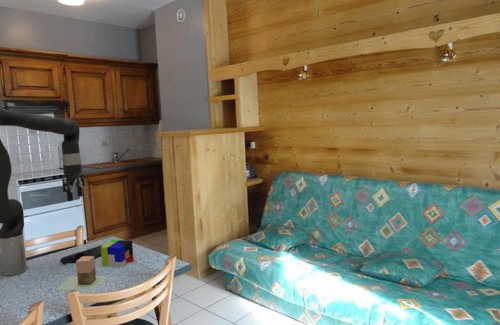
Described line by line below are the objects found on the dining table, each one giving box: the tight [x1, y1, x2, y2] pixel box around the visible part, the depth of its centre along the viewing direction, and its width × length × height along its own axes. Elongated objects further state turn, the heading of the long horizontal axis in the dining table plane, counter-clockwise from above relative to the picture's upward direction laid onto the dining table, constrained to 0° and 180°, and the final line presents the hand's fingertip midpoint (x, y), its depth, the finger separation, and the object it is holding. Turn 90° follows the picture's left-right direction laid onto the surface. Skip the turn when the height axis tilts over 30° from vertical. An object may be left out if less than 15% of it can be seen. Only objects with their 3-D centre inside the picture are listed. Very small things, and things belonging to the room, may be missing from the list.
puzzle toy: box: [100, 239, 135, 267], centre depth 166 cm, size 10×10×10 cm
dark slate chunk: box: [59, 245, 103, 266], centre depth 177 cm, size 15×22×5 cm
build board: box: [55, 275, 108, 291], centre depth 146 cm, size 16×12×1 cm
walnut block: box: [76, 268, 97, 285], centre depth 146 cm, size 5×5×5 cm
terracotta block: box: [75, 256, 96, 274], centre depth 145 cm, size 5×5×5 cm
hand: (75, 198), depth 163 cm, fingers open, 8 cm apart
